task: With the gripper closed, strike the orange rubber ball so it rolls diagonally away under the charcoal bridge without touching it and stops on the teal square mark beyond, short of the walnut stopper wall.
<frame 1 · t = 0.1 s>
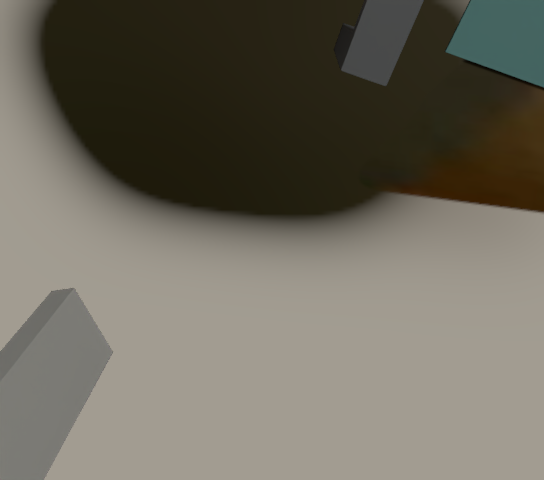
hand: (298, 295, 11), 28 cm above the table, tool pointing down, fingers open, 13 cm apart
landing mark: (540, 4, 30), on the table
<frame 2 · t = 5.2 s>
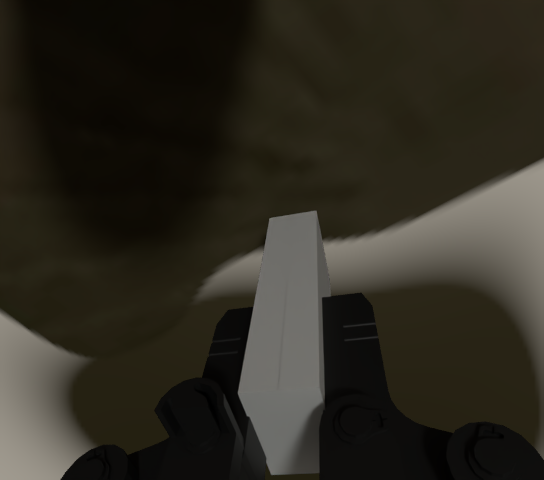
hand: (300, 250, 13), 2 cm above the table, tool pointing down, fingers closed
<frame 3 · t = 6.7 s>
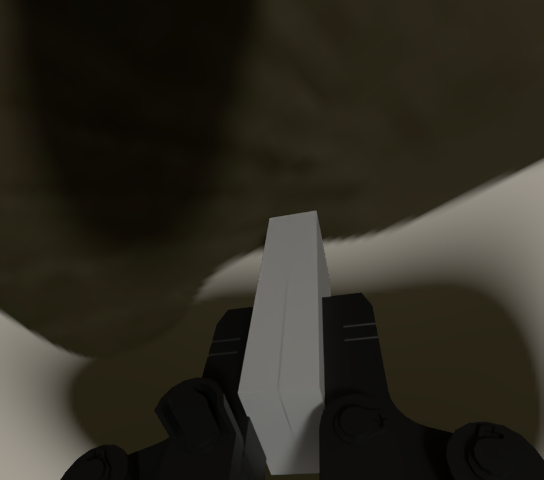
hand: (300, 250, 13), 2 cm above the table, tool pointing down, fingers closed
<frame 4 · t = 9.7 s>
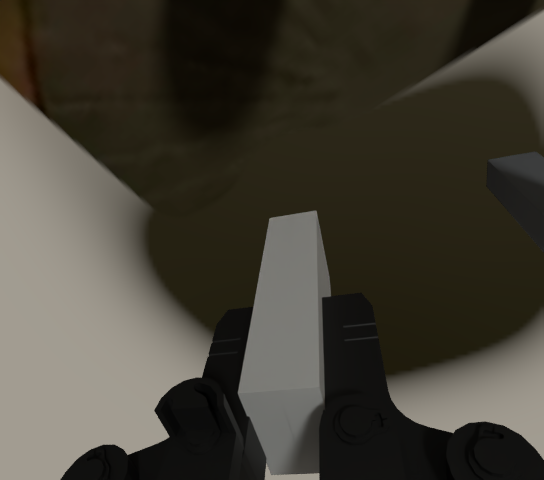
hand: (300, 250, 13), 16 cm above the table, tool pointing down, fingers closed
bridge: (518, 70, 25), on the table
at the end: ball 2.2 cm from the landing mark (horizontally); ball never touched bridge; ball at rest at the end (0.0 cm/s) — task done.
